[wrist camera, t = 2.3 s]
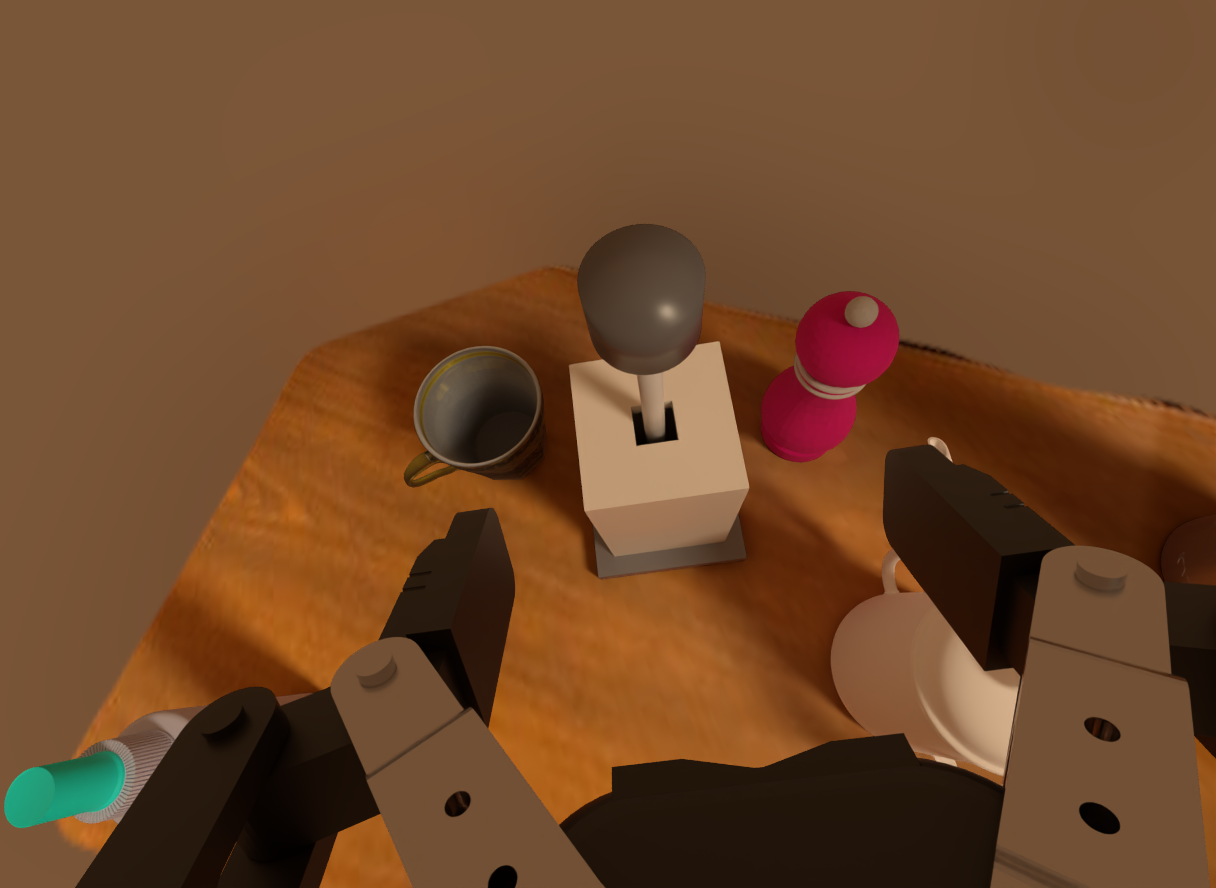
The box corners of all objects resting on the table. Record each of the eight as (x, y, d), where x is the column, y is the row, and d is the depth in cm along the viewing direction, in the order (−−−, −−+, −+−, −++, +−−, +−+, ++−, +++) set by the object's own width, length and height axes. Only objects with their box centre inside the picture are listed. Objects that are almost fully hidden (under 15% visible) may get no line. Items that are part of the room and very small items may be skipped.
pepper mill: (759, 385, 54) (805, 243, 35) (843, 396, 52) (937, 255, 34) (750, 461, 51) (793, 353, 33) (836, 474, 50) (933, 370, 31)
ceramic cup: (516, 376, 56) (484, 321, 47) (587, 444, 53) (568, 401, 44) (412, 470, 54) (357, 433, 45) (480, 547, 51) (436, 524, 42)
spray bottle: (349, 693, 49) (108, 726, 28) (337, 776, 47) (68, 878, 26) (280, 691, 49) (-6, 722, 29) (265, 773, 47) (-53, 870, 27)
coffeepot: (917, 491, 49) (1053, 402, 31) (1038, 840, 41) (1319, 988, 23) (785, 514, 50) (847, 440, 32) (879, 864, 41) (1033, 1026, 23)
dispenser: (716, 414, 53) (736, 300, 36) (745, 560, 49) (783, 511, 31) (584, 434, 54) (540, 332, 36) (600, 579, 49) (560, 542, 32)
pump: (684, 422, 40) (693, 214, 21) (695, 484, 39) (716, 322, 20) (621, 432, 41) (571, 235, 21) (629, 494, 39) (584, 343, 20)
